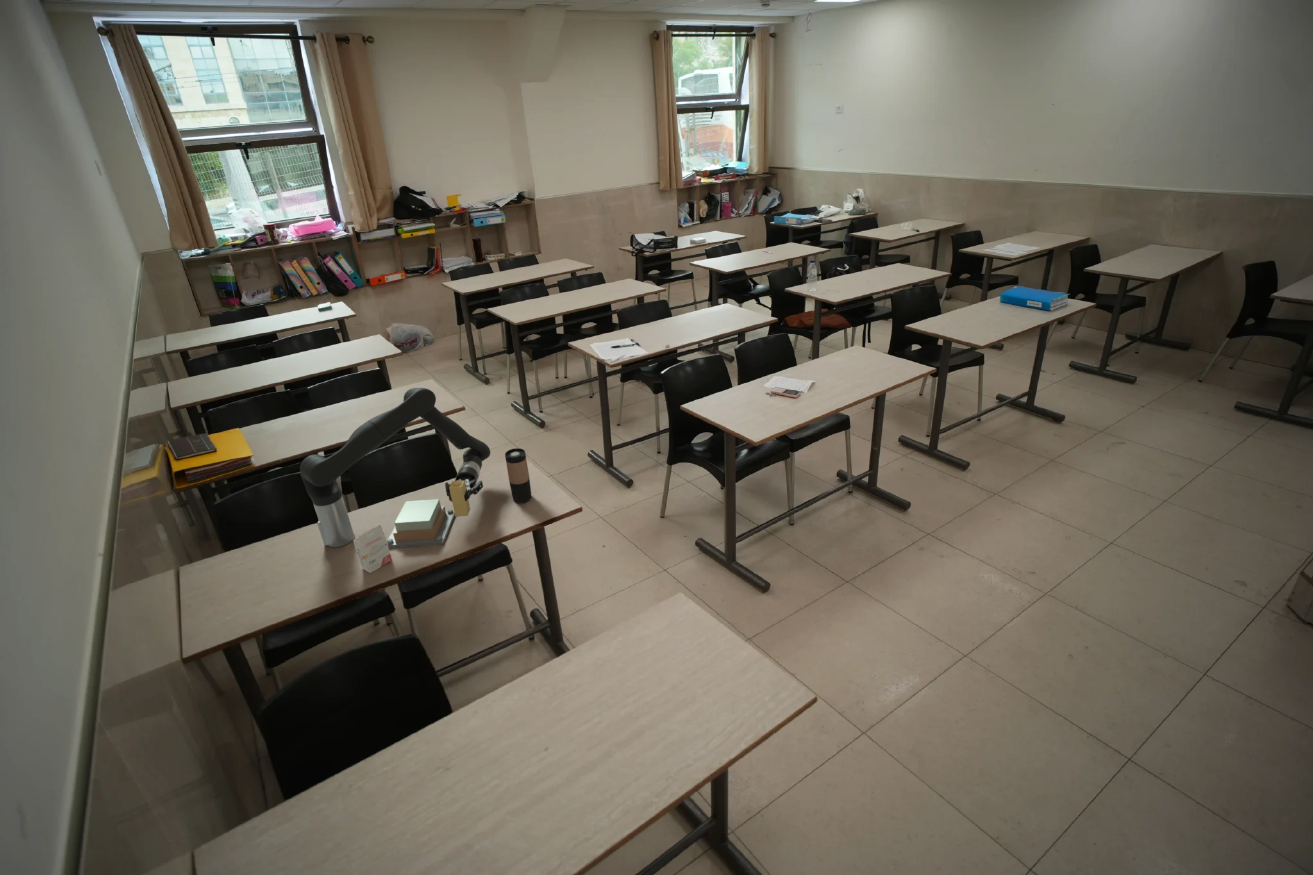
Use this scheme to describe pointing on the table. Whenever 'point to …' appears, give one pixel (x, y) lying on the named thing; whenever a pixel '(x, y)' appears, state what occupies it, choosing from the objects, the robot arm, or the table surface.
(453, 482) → the ochre brick
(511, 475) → the travel mug
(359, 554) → the ink cartridge box
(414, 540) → the layered square stand
